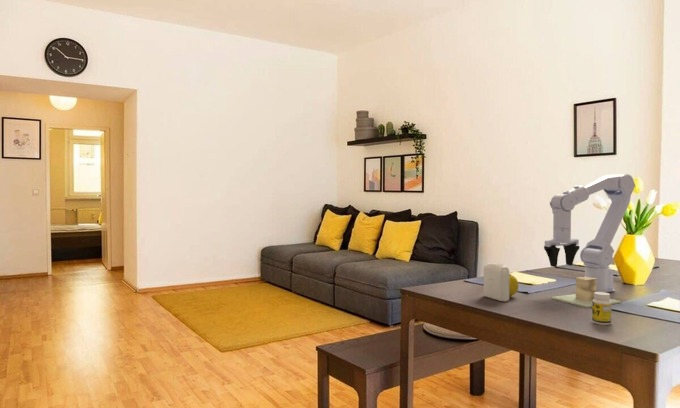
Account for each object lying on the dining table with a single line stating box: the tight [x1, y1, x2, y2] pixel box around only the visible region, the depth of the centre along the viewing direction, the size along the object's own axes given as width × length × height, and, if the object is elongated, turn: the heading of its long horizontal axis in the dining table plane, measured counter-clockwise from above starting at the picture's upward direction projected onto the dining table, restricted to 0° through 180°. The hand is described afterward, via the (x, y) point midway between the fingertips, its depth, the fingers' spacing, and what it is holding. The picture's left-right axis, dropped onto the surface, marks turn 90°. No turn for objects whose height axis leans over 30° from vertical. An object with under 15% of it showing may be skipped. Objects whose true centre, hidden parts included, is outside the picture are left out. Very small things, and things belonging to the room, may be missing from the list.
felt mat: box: [551, 293, 622, 309], centre depth 166 cm, size 16×14×1 cm
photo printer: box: [483, 261, 510, 302], centre depth 170 cm, size 10×4×12 cm, turn 20°
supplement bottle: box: [591, 292, 612, 326], centre depth 139 cm, size 5×5×8 cm
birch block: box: [575, 276, 597, 301], centre depth 166 cm, size 4×4×7 cm
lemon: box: [509, 273, 519, 298], centre depth 172 cm, size 6×6×8 cm
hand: (561, 265), depth 178 cm, fingers open, 7 cm apart
